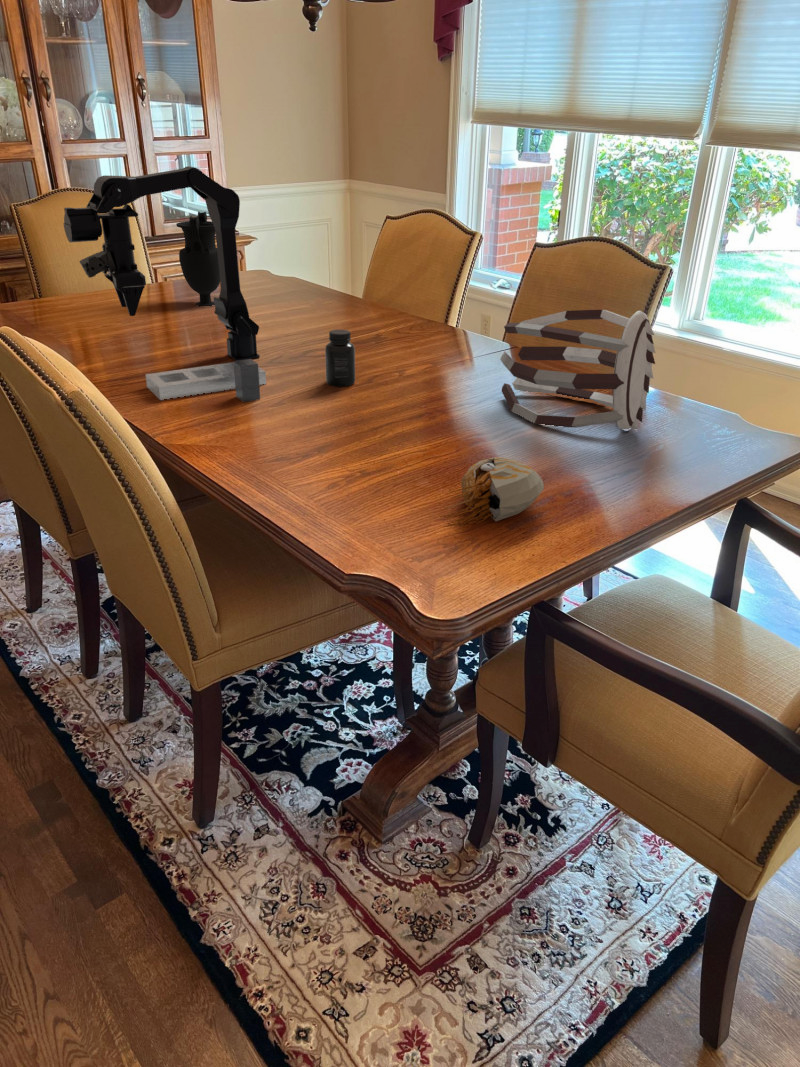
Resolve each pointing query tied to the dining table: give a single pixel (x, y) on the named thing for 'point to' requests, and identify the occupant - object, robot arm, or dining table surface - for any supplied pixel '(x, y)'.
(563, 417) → the decorative basket
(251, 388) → the graphite block
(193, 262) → the urn
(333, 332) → the supplement bottle
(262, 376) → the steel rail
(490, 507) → the nautilus
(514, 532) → the dining table surface
